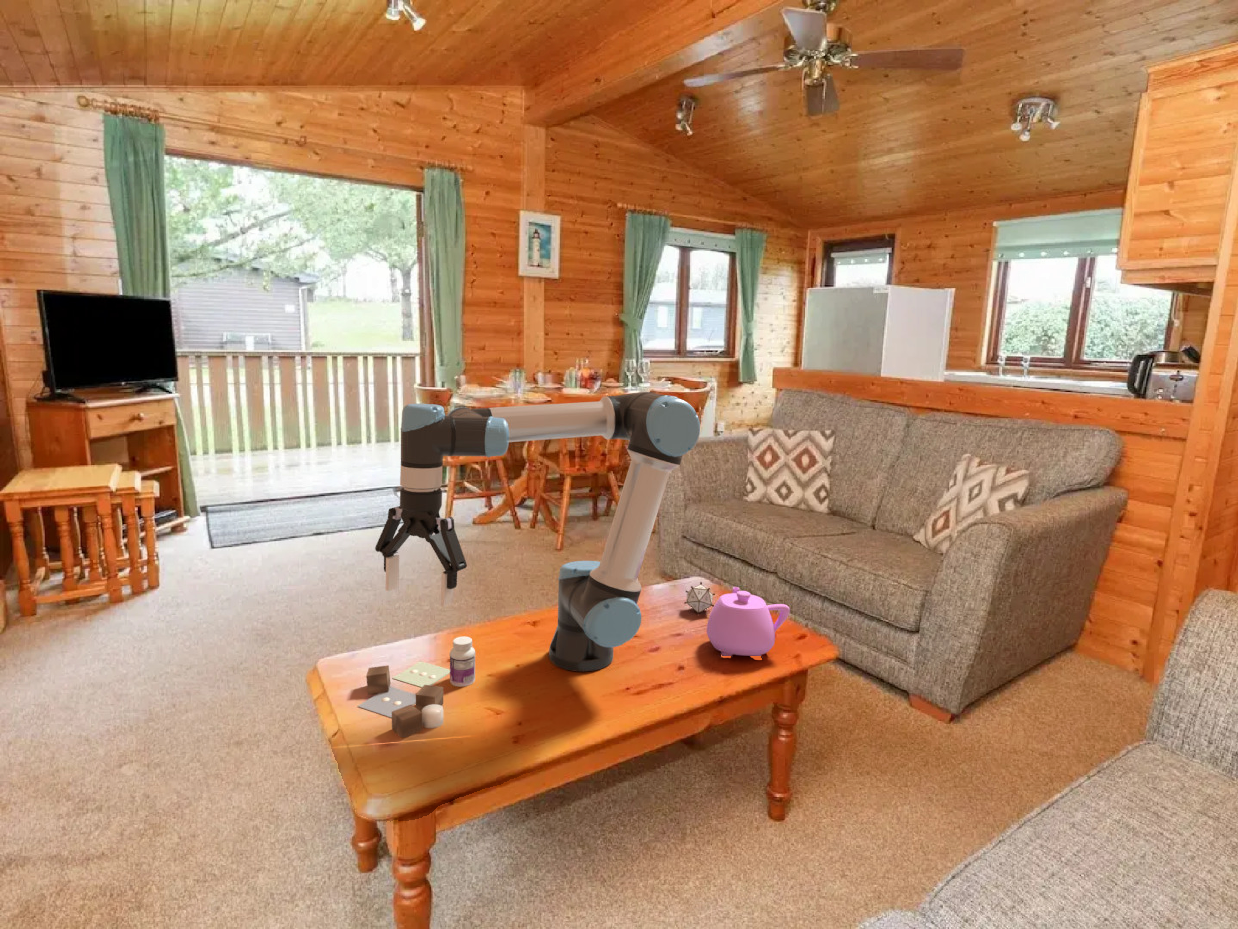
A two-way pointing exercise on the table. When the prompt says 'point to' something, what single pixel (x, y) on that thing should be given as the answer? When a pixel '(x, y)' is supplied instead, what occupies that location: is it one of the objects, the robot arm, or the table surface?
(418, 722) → the cube
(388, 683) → the cube
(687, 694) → the table surface
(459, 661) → the pill bottle
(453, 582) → the robot arm
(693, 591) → the game die
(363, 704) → the pad two
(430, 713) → the white cap
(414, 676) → the pad three
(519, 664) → the table surface
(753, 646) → the teapot
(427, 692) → the cube
